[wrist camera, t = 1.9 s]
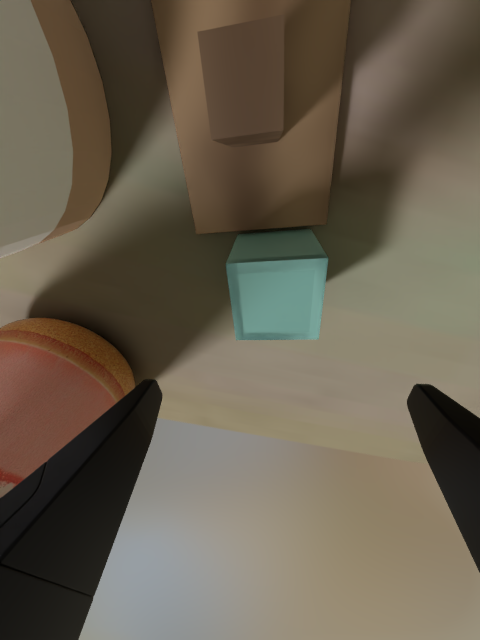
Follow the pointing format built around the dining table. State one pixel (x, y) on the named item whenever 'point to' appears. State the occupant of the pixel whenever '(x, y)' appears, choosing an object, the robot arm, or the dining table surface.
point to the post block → (255, 106)
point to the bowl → (48, 124)
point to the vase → (52, 390)
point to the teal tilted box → (277, 285)
